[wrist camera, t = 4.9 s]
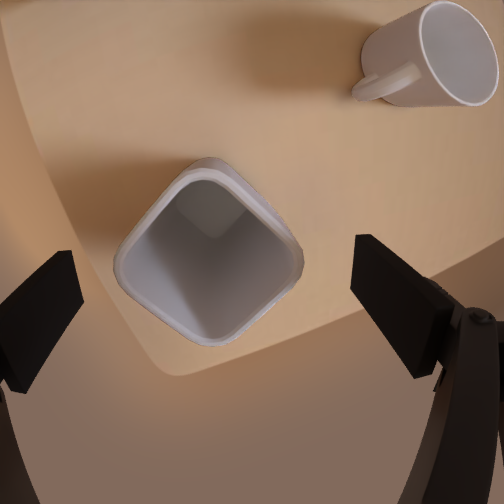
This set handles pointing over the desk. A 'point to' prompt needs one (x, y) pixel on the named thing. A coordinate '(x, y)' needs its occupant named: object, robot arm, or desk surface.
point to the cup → (209, 255)
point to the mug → (429, 60)
